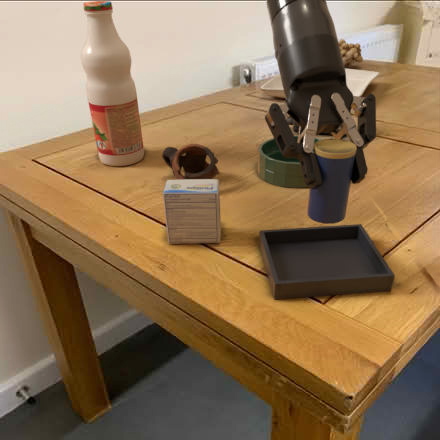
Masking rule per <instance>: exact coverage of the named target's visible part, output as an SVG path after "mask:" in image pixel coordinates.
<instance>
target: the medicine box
mask: <svg viewBox="0 0 440 440" xmlns="http://www.w3.org/2000/svg"><path fill="white" fill-rule="evenodd" d="M220 192H221V191H220V180H219V179H217V178H213V179H185V180H178V179H167V180H166V182H165V186H164V188H163V191H162V200H163V206H164V207H163V208H164V217H165V224H166V225H165V226H166V235H167V242H168V243H167V244H169V245H170V244H171V245H172V244H177V245H178V244H220V243H221V234H222V218H221V216H222V215H221V195H220V194H221V193H220Z"/></svg>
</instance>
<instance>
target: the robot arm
mask: <svg viewBox="0 0 440 440" xmlns="http://www.w3.org/2000/svg"><path fill="white" fill-rule="evenodd" d="M265 3H266V8H267V15H268V17H269V22H270V27H271V31H272V43H273V50H274V58H275V59H276V62H277V66H278V71H279V74H280V76H281V80H282V85H283V89H284V94H285V96H286V99H285V102H284V103H281V104H279V103H276V102H273V103H271V104H270V106H269V107H268V110H267V112H266V114H265V116H264V121H265V122H266V124H267V126H268V128H269V131H270V132H271V136H272V138H274V139H275V141H276V143H277V145H278V147H279V149H280V151H281V154H282V155H283V157H285V158H289V157H293V158H296V159H298V160H299V162H300V165H301V170H302V174H303V179H304V182H305V184H306V185H309V187H308V188H309V190H310V189H311V190H312V189H317V188H318V187H319V186H320V185H321V184H322V178H321V174H320V170H319V165H318V161H317V157H316V153H313V152H312V151H313V148H314V140H315V138H316V135H318V134H321V133H320V132H326V133H327V134H328V133H330V132H331V133H332V136H333V139H342V140H347V141H350V142H352V143H354V144H355V145H356V147H357V149H356V154H355V159H354V165H353V171H352V178H351V184H353V185H356V184H360V183H361V182H363V181H364V180H365V178H366V175H368V166H367V165H368V164H367V162H366V157H365V153H364V149H366V148H367V147H368V146H369V145H370V144H371V143H372V142H374V140H375V139H376V138H377V98H376V95H375V94H373V93H368V94H367V95H366V96H360V97H358V96H353V94H352V92H351V91H350V90H349V88H348V87H347V84H346V71H345V68H346V67H344V63H343V59H342V55H341V51H340V47H339V43H338V42H339V39H338V35H337V30H336V27H335V23H334V20H333V17H332V15H331V12H330V10H329V7H328V4H327V3H328V2H327V0H265ZM350 107H352V108H351V109H353V114H354V115H351V114H350V113H349V109H350ZM353 116H354V117H356V118H357V123H356V120H355V119H354V118H353ZM288 117H291V118H292V119H293V120H294V121H295V122H296V123H297V124H298V125H299V132H298V135H297V136H298V143H297V141H296V139H295V137H294V133H293V130H292V129H291V125H289V124H288V122H287V119H288ZM342 124H343V127H342V128H341V127H340V126H341V125H342Z"/></svg>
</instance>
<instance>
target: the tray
mask: <svg viewBox="0 0 440 440" xmlns="http://www.w3.org/2000/svg"><path fill="white" fill-rule="evenodd" d="M258 233H259V234H258V239H259V240H258V247H259V251H260V254H261V257H262V261H263V264H264V268H265V271H266V275H267V279H268V283H269V286H270V289H271V293H272V296H273V299H274V300H288V299H301V298H316V297H329V296H343V295H345V296H346V295H357V294H370V293H371V294H372V293H383V292H385V293H386V292H391V291H392V290H393V285H394V281H395V273H394V272H393V270H392V268H391V267H390V266H389V264H388V263H387V261H386V260H385V258H384V257H383V255H382V253H381V252H380V251H379V249H378V247H377V246H376V244H375V243H374V241H373V240H372V238H371V237H370V235H369V233H368V232H367V231H366V229H365V227H364V226H363V224H362V223H358V224H357V223H355V224H339V225H327V226H326V225H324V226H311V227H310V226H309V227H295V228H293V227H292V228H279V229H265V230H259V232H258Z"/></svg>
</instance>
